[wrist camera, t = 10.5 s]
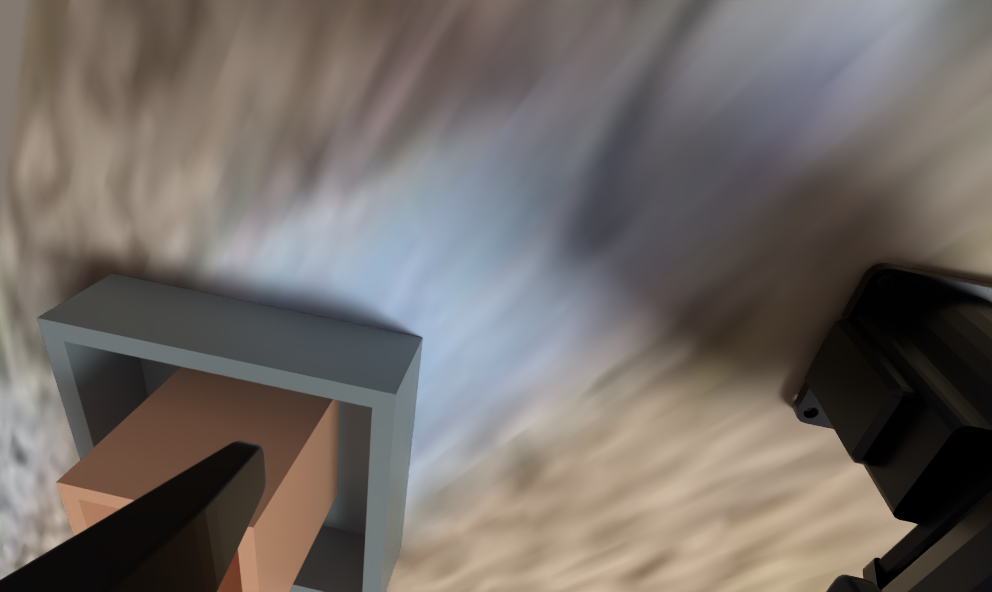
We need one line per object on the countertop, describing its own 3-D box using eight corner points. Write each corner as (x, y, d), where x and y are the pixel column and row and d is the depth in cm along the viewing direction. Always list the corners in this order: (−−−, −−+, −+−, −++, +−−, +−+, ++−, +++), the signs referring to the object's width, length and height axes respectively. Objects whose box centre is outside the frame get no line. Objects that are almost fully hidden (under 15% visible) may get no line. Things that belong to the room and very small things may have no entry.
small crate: (339, 389, 23) (253, 527, 17) (337, 494, 27) (263, 643, 20) (192, 356, 24) (56, 482, 18) (207, 465, 27) (96, 602, 21)
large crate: (425, 332, 22) (395, 394, 19) (403, 539, 29) (378, 614, 25) (119, 268, 23) (36, 317, 19) (165, 485, 29) (108, 551, 26)
